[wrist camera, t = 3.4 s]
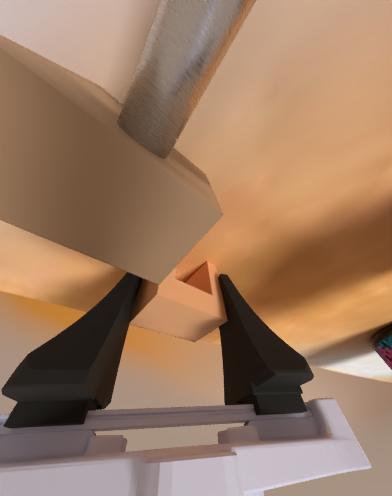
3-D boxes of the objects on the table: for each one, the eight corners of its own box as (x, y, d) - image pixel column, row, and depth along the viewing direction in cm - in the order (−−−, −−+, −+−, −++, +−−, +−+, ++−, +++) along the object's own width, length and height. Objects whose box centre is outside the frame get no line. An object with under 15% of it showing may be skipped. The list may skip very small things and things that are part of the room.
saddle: (215, 265, 14) (228, 320, 10) (192, 287, 15) (194, 342, 11) (166, 238, 12) (157, 293, 8) (145, 266, 13) (128, 324, 9)
